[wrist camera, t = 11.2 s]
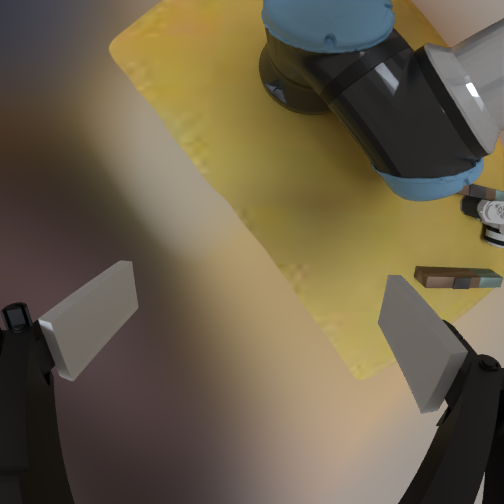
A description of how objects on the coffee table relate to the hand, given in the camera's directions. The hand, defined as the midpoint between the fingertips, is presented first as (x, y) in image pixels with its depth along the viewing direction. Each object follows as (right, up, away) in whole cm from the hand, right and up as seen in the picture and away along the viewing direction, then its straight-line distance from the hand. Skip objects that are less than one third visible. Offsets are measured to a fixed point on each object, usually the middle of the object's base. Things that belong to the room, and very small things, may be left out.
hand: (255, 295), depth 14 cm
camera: (+45, +9, +26) cm, 52 cm away
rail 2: (+39, -2, +30) cm, 49 cm away
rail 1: (+39, +13, +25) cm, 48 cm away
